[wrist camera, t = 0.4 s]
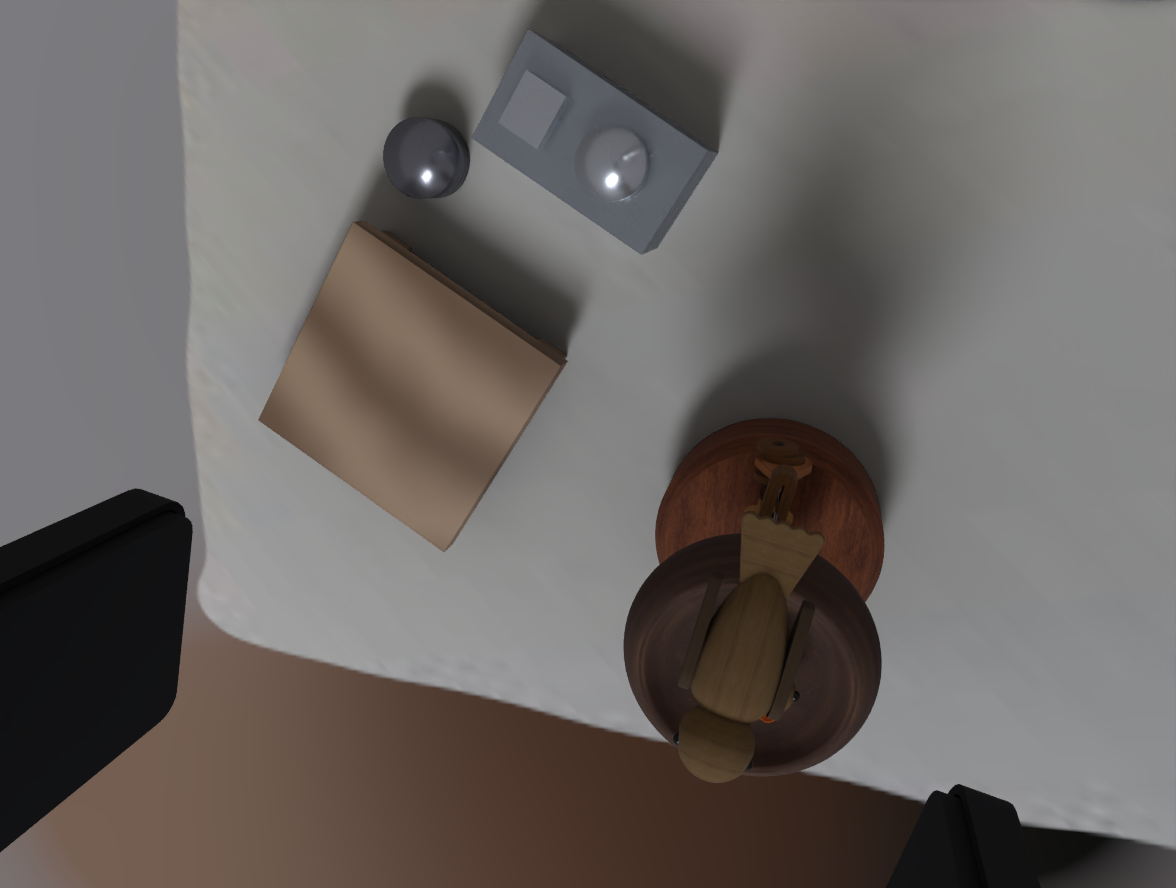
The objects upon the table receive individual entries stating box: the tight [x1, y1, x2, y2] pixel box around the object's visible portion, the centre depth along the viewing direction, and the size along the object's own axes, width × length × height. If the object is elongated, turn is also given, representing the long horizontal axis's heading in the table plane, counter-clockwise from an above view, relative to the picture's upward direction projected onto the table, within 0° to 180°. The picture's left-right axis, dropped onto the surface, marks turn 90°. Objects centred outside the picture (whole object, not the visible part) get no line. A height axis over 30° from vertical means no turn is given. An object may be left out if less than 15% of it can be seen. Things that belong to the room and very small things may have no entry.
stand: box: [259, 221, 568, 552], centre depth 45 cm, size 12×12×3 cm
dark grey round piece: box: [383, 117, 470, 199], centre depth 42 cm, size 4×4×2 cm
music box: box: [624, 418, 884, 783], centre depth 35 cm, size 15×11×20 cm
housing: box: [472, 29, 718, 255], centre depth 38 cm, size 5×9×5 cm, turn 58°
